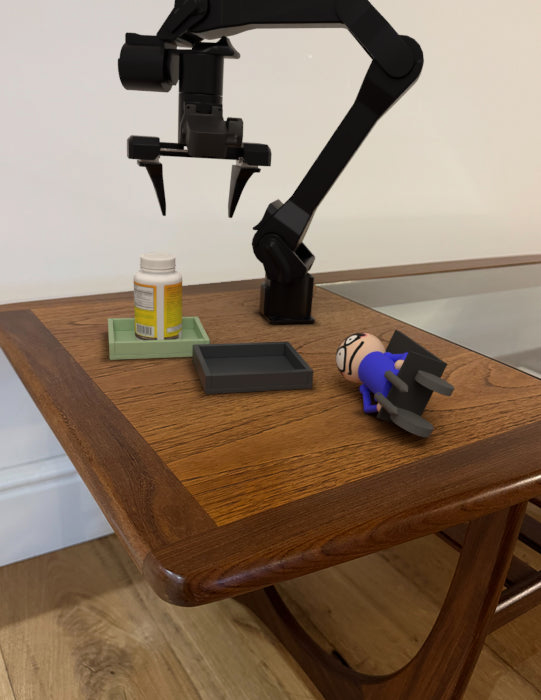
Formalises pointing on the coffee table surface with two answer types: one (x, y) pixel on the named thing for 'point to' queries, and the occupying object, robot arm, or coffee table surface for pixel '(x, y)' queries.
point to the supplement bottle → (158, 298)
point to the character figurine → (394, 377)
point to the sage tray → (129, 348)
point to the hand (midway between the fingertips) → (197, 216)
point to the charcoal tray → (250, 367)
